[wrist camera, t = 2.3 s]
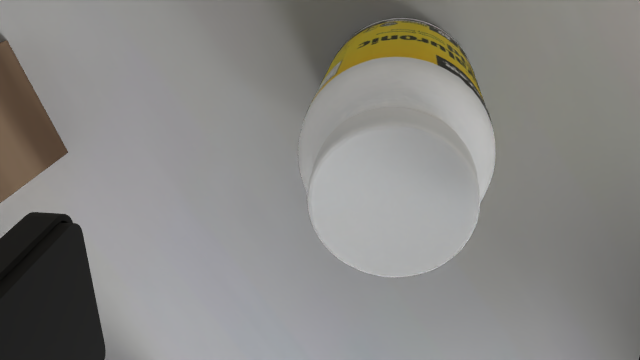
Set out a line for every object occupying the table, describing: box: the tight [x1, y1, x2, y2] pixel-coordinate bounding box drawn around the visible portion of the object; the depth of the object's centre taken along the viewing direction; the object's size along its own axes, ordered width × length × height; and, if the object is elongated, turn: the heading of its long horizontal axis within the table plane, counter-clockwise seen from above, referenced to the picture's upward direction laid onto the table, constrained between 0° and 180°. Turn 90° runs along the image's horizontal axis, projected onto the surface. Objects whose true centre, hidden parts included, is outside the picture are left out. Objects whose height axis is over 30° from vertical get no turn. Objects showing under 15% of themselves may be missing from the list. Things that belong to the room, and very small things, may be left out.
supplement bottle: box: [298, 18, 496, 277], centre depth 18 cm, size 5×5×10 cm
